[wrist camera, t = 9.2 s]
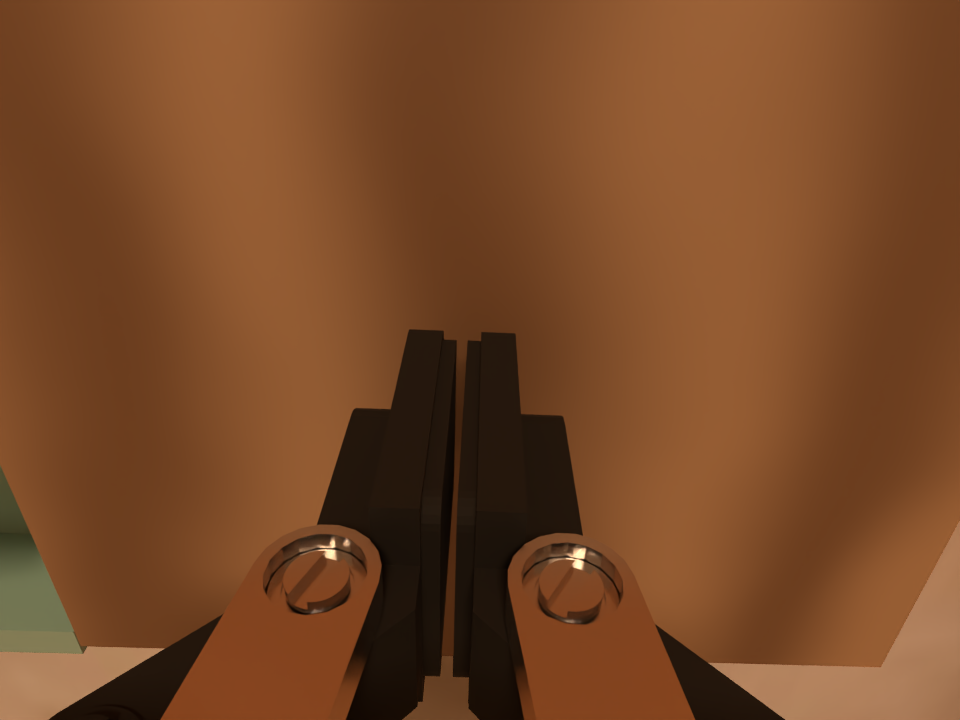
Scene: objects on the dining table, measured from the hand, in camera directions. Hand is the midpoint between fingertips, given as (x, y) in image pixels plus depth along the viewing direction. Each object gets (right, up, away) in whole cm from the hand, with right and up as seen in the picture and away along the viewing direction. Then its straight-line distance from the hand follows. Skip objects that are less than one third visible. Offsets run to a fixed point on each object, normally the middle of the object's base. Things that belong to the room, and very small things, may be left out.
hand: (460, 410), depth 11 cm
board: (+1, +2, +4) cm, 5 cm away
